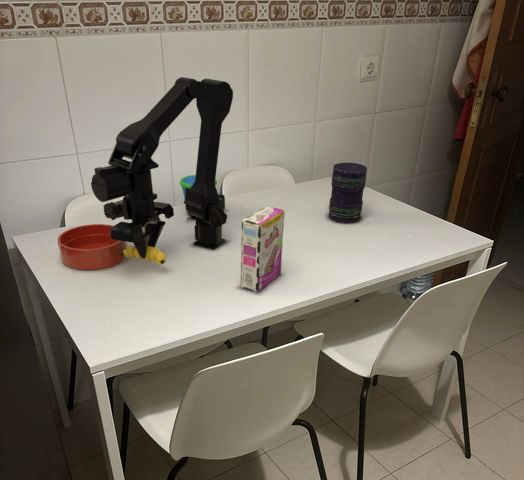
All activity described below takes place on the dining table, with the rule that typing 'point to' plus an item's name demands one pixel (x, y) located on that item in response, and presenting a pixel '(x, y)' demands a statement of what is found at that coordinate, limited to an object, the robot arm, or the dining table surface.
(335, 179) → the storage jar
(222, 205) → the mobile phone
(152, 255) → the banana
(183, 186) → the snack cup
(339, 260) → the dining table surface
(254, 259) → the candy bar box
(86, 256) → the bowl
